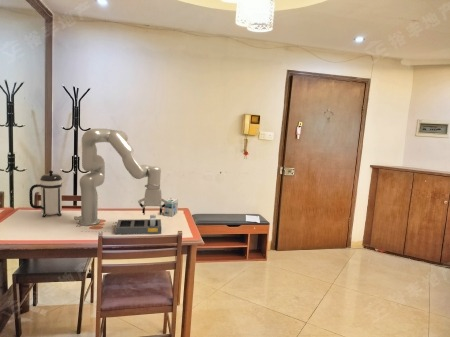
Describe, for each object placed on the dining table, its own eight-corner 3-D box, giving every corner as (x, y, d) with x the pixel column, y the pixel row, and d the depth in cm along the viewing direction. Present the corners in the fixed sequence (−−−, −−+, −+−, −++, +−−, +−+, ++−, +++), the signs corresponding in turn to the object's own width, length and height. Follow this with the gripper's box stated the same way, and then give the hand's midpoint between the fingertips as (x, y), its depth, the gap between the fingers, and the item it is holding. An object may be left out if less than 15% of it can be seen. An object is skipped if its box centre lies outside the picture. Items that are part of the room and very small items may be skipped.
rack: (115, 234, 189) (115, 228, 189) (118, 225, 205) (118, 219, 204) (161, 234, 195) (161, 227, 194) (160, 225, 211) (160, 219, 210)
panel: (150, 230, 196) (150, 219, 195) (149, 225, 206) (150, 214, 205) (155, 230, 197) (155, 219, 196) (154, 225, 207) (155, 214, 206)
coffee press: (51, 210, 229) (50, 167, 225) (69, 213, 224) (68, 170, 220) (29, 216, 213) (27, 170, 209) (47, 220, 208) (46, 173, 204)
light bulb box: (172, 216, 231) (173, 201, 229) (163, 215, 232) (164, 200, 231) (177, 213, 241) (178, 198, 240) (169, 212, 243) (169, 197, 241)
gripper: (138, 187, 193) (137, 216, 195) (168, 188, 197) (166, 216, 199) (139, 185, 200) (137, 212, 202) (167, 186, 204) (166, 212, 206)
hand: (152, 214), depth 201 cm, fingers open, 9 cm apart
